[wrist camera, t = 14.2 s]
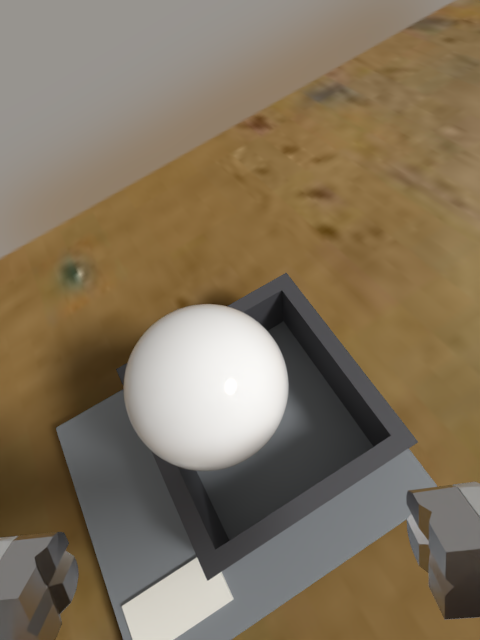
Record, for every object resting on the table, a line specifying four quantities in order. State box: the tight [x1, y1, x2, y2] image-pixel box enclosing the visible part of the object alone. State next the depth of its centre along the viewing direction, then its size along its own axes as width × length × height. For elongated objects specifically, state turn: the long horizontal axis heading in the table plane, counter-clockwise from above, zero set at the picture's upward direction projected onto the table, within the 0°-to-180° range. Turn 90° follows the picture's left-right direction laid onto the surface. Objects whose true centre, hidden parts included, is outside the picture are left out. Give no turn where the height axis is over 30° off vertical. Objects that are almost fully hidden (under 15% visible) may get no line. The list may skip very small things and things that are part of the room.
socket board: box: [56, 273, 438, 640], centre depth 20 cm, size 17×14×6 cm
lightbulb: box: [123, 304, 289, 471], centre depth 17 cm, size 6×6×11 cm
